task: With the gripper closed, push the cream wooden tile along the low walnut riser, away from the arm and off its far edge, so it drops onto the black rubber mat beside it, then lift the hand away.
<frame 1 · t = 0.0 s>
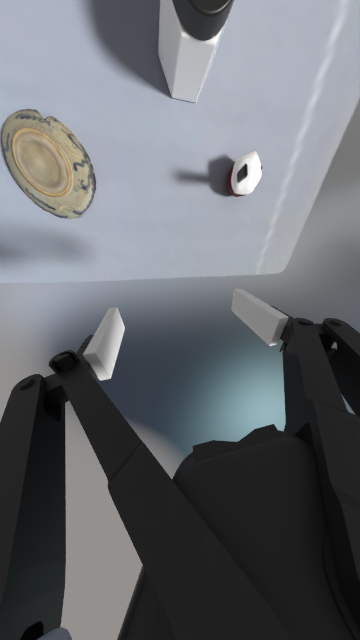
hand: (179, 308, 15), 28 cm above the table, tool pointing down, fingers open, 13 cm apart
decorative bowl: (56, 173, 27), on the table
toy boat: (234, 181, 32), on the table
jar: (184, 63, 23), on the table
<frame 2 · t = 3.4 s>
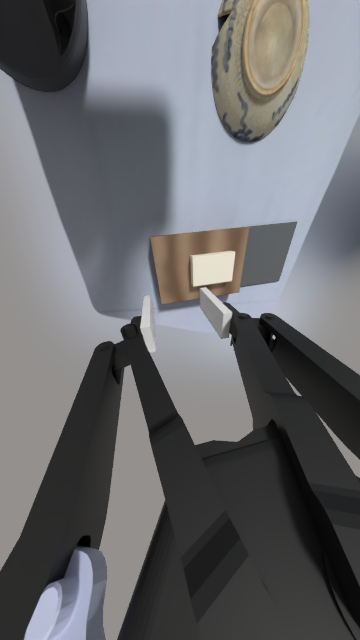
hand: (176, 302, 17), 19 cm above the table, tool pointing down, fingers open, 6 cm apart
decorative bowl: (255, 68, 21), on the table
tile: (210, 267, 30), point 4 cm above the table, touching riser
mat: (261, 257, 35), on the table
riser: (196, 265, 34), on the table
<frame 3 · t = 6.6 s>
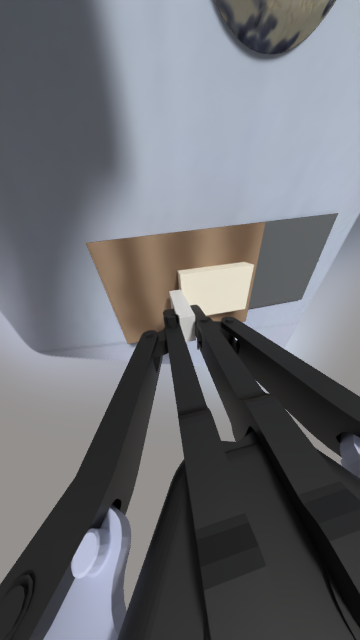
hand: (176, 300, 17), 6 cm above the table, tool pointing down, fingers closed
tile: (210, 288, 19), point 4 cm above the table, touching riser
mat: (279, 268, 24), on the table
riser: (180, 283, 22), on the table
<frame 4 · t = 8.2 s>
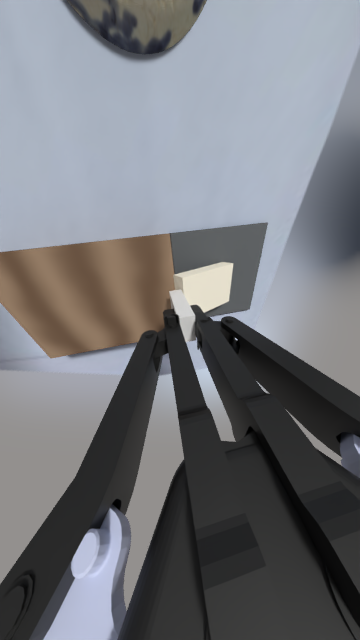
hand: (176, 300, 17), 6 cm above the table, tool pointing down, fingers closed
tile: (200, 288, 21), point 2 cm above the table, tilted 24°, touching gripper
mat: (216, 278, 23), on the table
riser: (108, 294, 21), on the table
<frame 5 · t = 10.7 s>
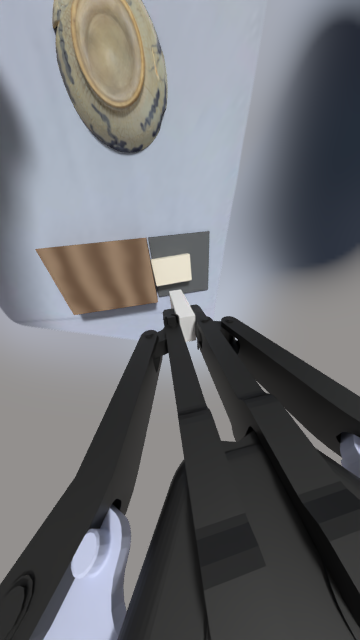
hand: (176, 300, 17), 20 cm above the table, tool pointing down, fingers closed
decorative bowl: (116, 79, 20), on the table
tile: (171, 269, 34), resting on mat
mat: (181, 266, 35), on the table
riser: (111, 275, 33), on the table
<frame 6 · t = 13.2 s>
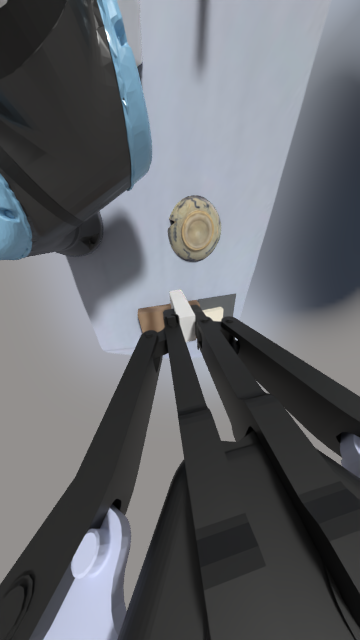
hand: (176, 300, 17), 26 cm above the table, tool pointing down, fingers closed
decorative bowl: (194, 231, 37), on the table
tile: (209, 315, 52), resting on mat
jar: (115, 32, 21), on the table
mat: (215, 313, 52), on the table
riser: (170, 321, 50), on the table
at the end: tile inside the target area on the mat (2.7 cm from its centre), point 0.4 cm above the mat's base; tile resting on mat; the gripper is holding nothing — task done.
